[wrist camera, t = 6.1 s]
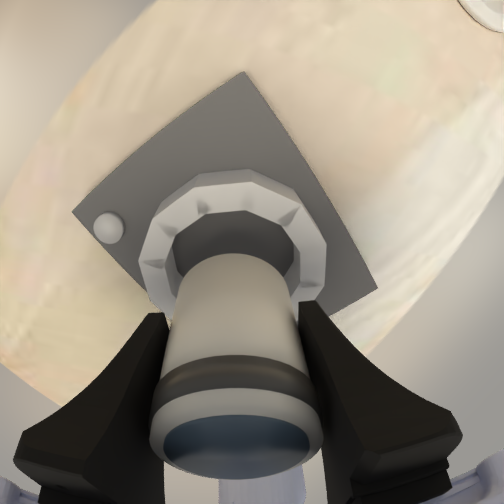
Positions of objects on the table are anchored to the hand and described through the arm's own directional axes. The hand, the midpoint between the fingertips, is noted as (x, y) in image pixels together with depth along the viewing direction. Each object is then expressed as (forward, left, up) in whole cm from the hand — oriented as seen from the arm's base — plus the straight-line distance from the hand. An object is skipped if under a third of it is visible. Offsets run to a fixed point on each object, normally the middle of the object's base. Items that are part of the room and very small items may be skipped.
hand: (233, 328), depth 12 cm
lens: (0, 0, -2) cm, 2 cm away
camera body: (0, 0, -8) cm, 8 cm away
